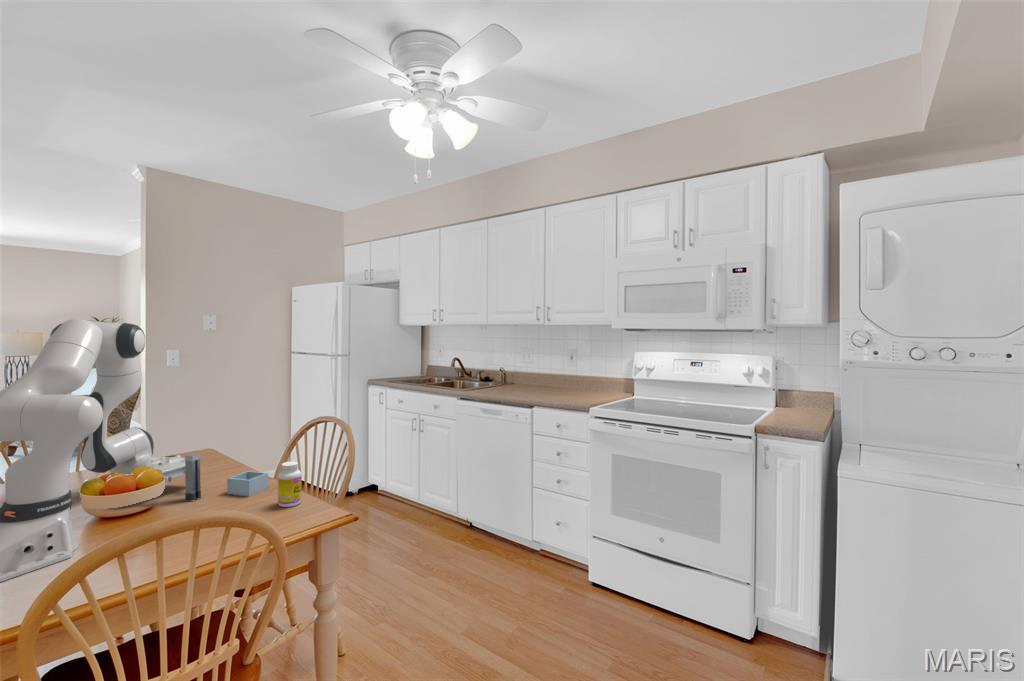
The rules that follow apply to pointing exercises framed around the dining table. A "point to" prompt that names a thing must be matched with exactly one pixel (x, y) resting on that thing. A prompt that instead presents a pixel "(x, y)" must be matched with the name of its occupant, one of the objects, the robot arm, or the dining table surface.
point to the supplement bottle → (289, 485)
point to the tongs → (192, 476)
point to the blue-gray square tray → (247, 483)
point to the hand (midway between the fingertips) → (183, 475)
